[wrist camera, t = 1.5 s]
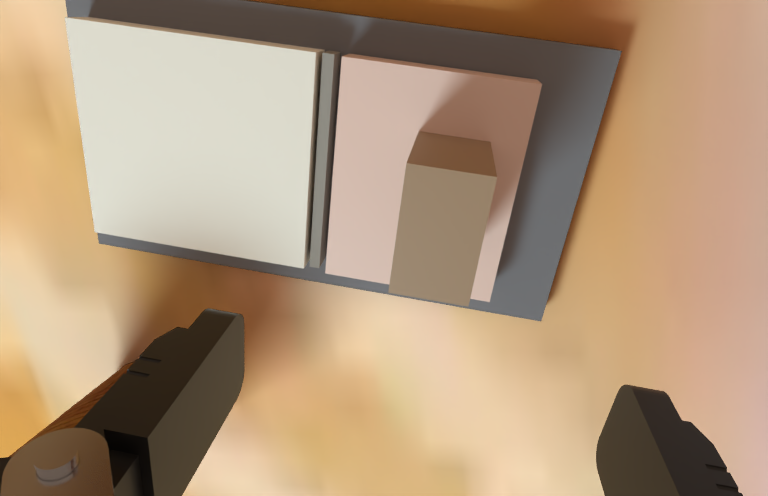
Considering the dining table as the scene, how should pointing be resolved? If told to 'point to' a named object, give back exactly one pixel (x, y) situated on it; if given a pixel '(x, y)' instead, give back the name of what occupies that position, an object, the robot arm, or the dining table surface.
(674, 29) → the dining table surface
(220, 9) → the ticket base
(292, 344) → the dining table surface
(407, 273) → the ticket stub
